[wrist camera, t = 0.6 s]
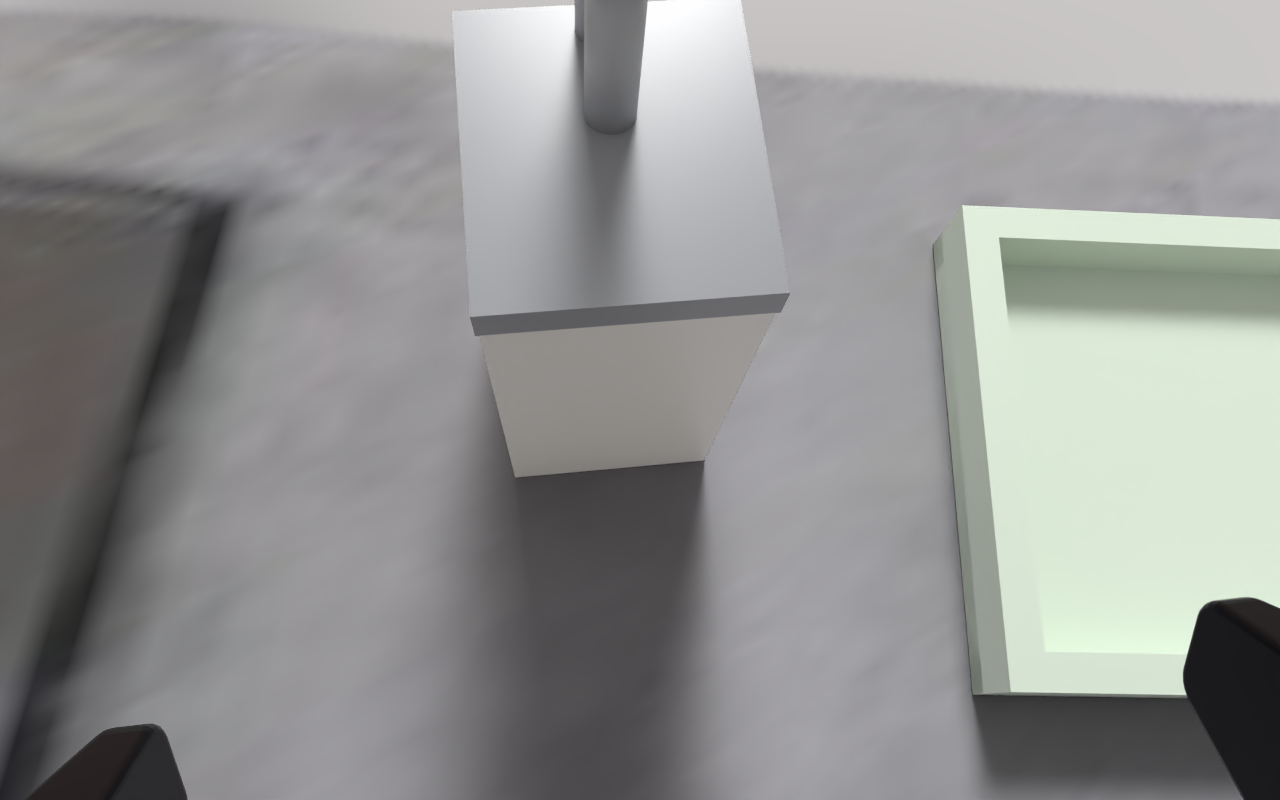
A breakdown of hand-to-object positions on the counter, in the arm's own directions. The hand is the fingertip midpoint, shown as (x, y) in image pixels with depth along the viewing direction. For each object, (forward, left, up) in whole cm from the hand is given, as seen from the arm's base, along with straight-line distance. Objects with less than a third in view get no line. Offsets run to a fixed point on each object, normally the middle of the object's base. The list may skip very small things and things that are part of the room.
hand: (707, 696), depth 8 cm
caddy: (+6, -5, -13) cm, 15 cm away
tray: (-6, -14, -13) cm, 20 cm away
